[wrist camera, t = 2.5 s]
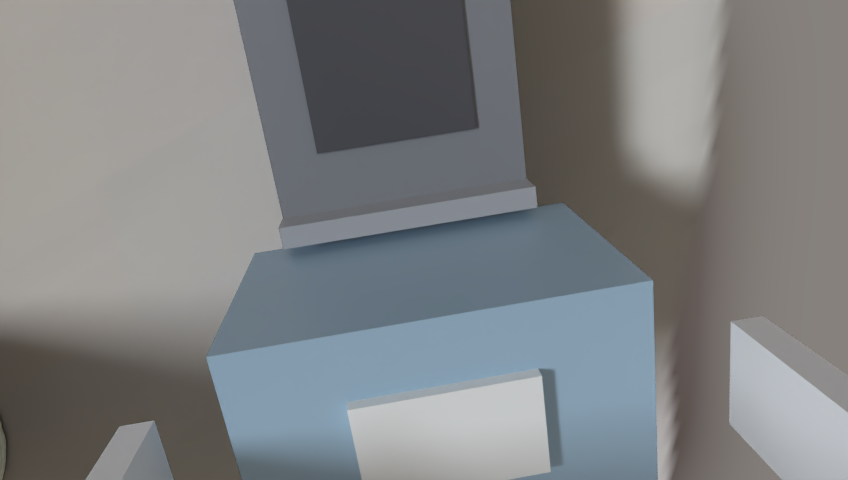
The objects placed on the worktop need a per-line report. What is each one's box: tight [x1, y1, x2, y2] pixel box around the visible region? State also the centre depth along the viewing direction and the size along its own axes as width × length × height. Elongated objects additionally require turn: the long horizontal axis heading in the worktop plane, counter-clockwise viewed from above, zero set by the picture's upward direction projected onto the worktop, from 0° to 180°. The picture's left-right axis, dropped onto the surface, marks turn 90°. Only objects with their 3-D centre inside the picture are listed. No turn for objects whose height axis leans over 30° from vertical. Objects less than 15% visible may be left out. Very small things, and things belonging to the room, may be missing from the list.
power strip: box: [234, 0, 537, 250], centre depth 18 cm, size 30×7×5 cm, turn 8°
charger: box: [206, 203, 658, 480], centre depth 16 cm, size 6×9×6 cm, turn 98°
